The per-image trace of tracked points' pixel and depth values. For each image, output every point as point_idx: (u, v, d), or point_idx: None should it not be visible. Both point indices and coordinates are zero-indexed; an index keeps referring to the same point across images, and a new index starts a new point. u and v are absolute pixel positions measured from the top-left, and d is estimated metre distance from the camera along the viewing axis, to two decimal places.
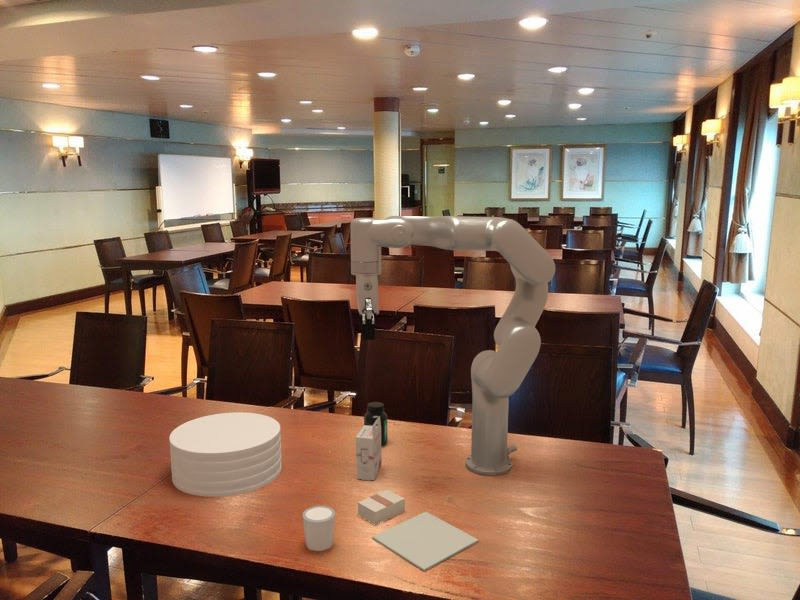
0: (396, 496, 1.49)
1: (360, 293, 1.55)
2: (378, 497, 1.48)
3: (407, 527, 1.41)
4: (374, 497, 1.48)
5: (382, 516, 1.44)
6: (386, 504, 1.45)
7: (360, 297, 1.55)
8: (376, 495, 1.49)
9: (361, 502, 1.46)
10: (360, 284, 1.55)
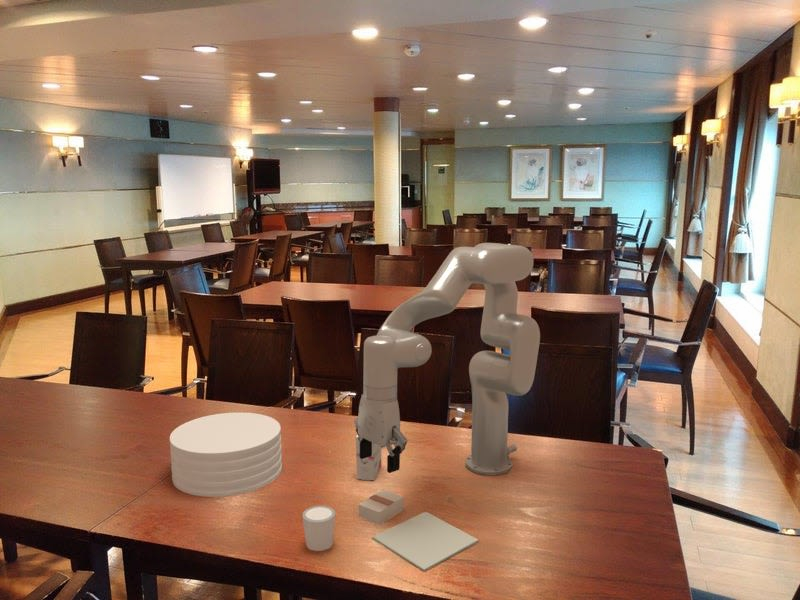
0: (394, 495, 1.50)
1: None
2: (377, 497, 1.48)
3: (407, 527, 1.41)
4: (373, 498, 1.48)
5: (385, 516, 1.44)
6: (388, 503, 1.45)
7: None
8: (375, 495, 1.49)
9: (362, 504, 1.46)
10: None
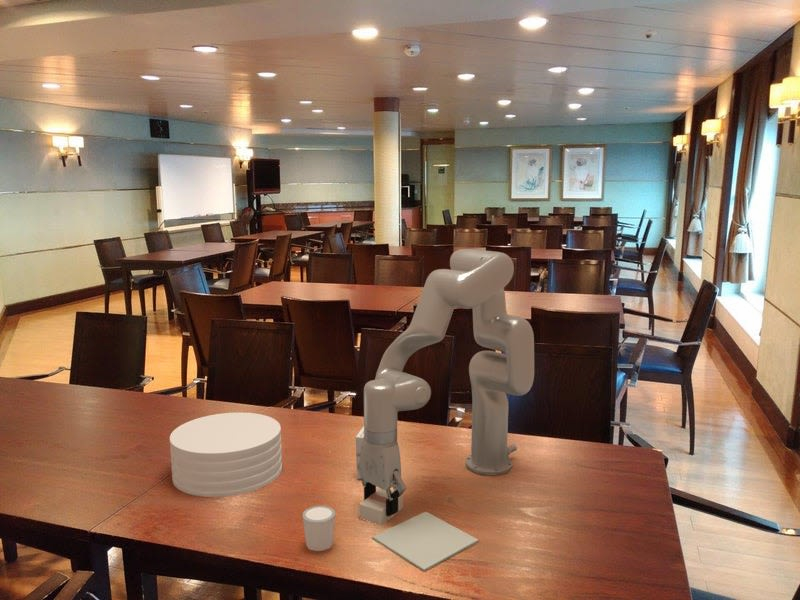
0: None
1: None
2: (377, 496, 1.48)
3: (407, 527, 1.41)
4: (373, 497, 1.48)
5: None
6: None
7: None
8: (374, 495, 1.49)
9: (362, 503, 1.45)
10: None
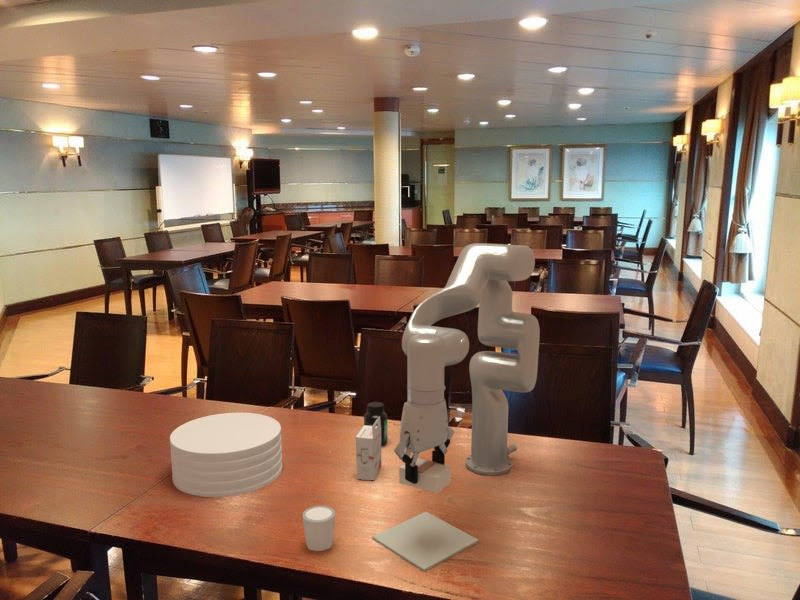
0: (439, 472, 1.31)
1: None
2: (429, 464, 1.35)
3: (407, 527, 1.41)
4: (427, 462, 1.36)
5: None
6: None
7: (447, 422, 1.34)
8: (432, 462, 1.35)
9: None
10: None
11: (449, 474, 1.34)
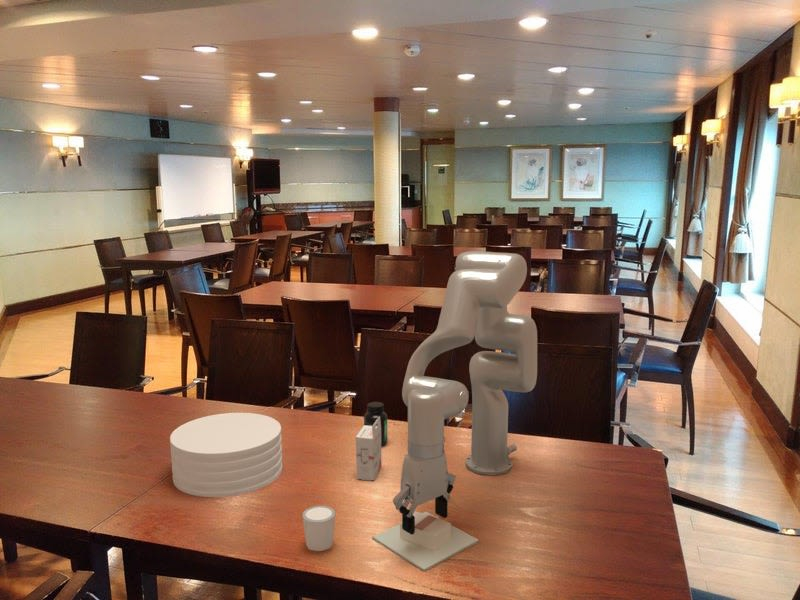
0: (438, 530, 1.33)
1: None
2: (429, 519, 1.37)
3: None
4: (428, 517, 1.38)
5: (408, 534, 1.35)
6: (416, 526, 1.34)
7: None
8: (433, 518, 1.37)
9: (416, 512, 1.40)
10: None
11: (449, 531, 1.36)
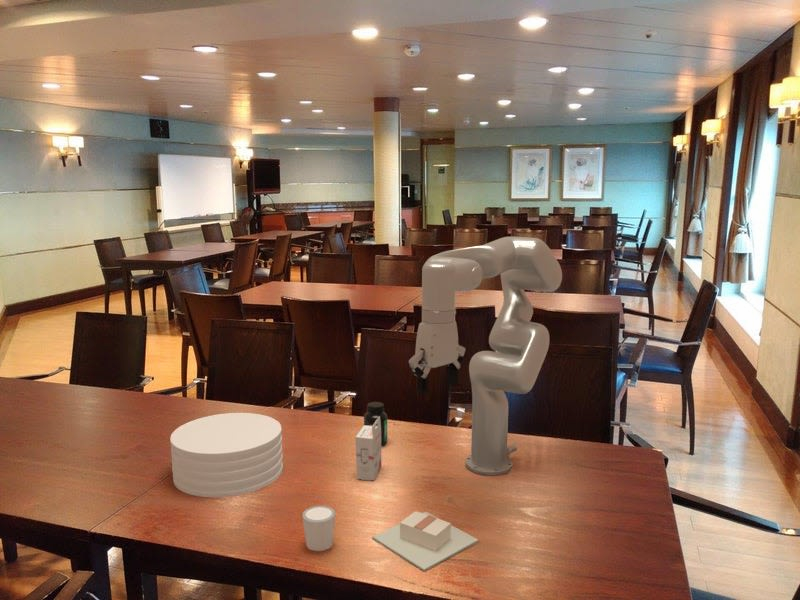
0: (438, 530, 1.33)
1: (457, 338, 1.48)
2: (429, 519, 1.37)
3: None
4: (428, 517, 1.38)
5: (408, 534, 1.35)
6: (416, 526, 1.34)
7: None
8: (433, 518, 1.37)
9: (416, 512, 1.40)
10: None
11: (449, 531, 1.36)
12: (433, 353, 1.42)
